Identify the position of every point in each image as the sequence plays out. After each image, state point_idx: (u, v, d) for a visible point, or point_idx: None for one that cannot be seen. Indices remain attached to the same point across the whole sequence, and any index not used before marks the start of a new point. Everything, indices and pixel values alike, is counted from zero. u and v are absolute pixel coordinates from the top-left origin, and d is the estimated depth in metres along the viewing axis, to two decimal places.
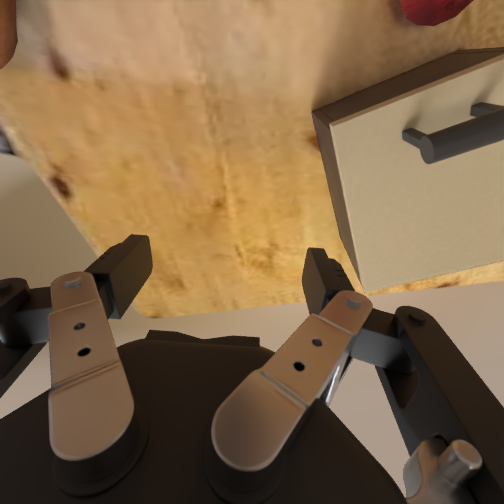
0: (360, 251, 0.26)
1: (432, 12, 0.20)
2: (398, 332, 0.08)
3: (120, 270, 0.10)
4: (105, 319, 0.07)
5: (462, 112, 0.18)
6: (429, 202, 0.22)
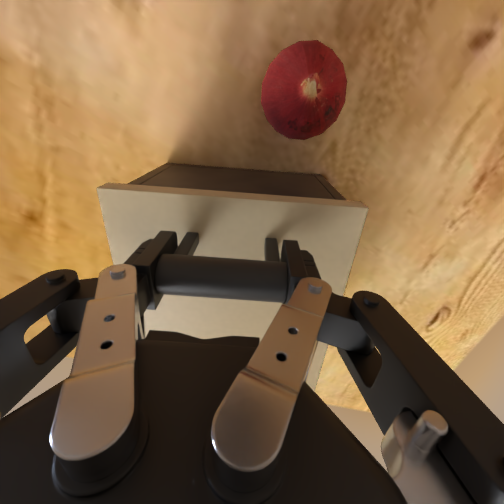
0: None
1: (278, 122, 0.17)
2: (353, 314, 0.09)
3: (156, 263, 0.11)
4: (133, 315, 0.07)
5: (256, 240, 0.15)
6: (219, 323, 0.18)
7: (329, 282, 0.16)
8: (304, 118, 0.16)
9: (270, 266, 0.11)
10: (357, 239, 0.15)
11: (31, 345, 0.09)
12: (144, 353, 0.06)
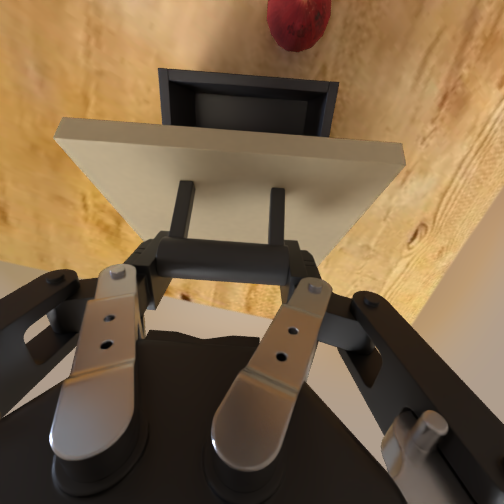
0: None
1: (280, 29, 0.23)
2: (353, 314, 0.09)
3: None
4: (133, 315, 0.07)
5: (261, 189, 0.13)
6: (227, 240, 0.19)
7: (338, 220, 0.15)
8: (299, 21, 0.22)
9: (271, 261, 0.11)
10: (380, 191, 0.12)
11: (31, 345, 0.09)
12: (144, 353, 0.06)
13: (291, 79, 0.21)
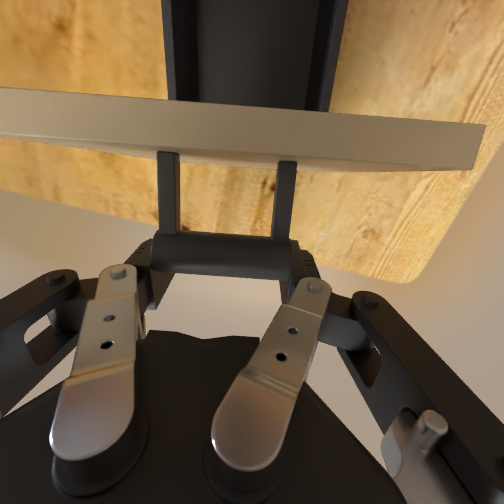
0: None
1: None
2: (353, 314, 0.09)
3: None
4: (133, 315, 0.07)
5: (266, 158, 0.10)
6: (228, 162, 0.16)
7: None
8: None
9: (272, 268, 0.10)
10: (426, 170, 0.09)
11: (31, 345, 0.09)
12: (144, 353, 0.06)
13: None
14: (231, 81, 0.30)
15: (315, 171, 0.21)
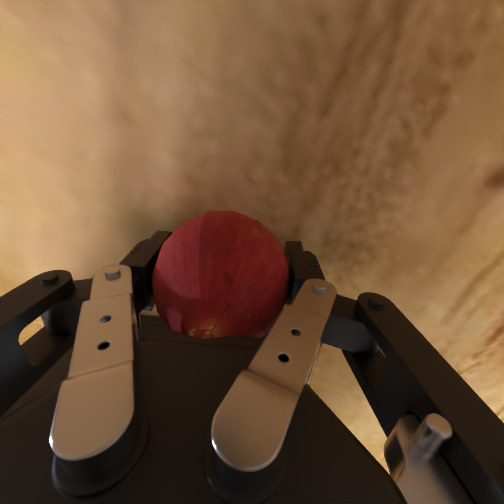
0: None
1: None
2: (358, 316, 0.09)
3: (152, 264, 0.11)
4: (130, 315, 0.07)
5: None
6: None
7: None
8: None
9: None
10: None
11: (25, 347, 0.08)
12: (142, 353, 0.06)
13: None
14: None
15: None
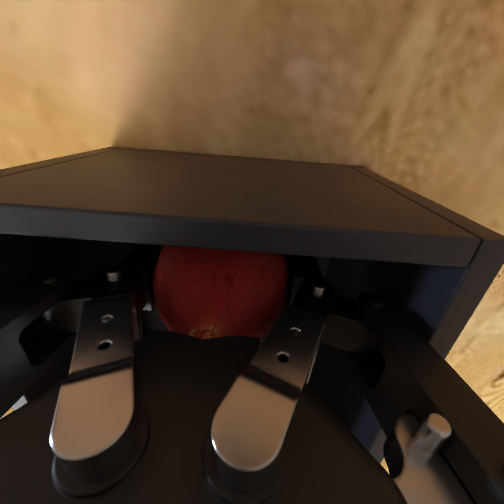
0: None
1: None
2: (357, 315, 0.09)
3: (153, 264, 0.11)
4: (130, 315, 0.07)
5: None
6: None
7: None
8: None
9: None
10: None
11: (26, 346, 0.08)
12: (142, 353, 0.06)
13: (351, 233, 0.06)
14: None
15: None
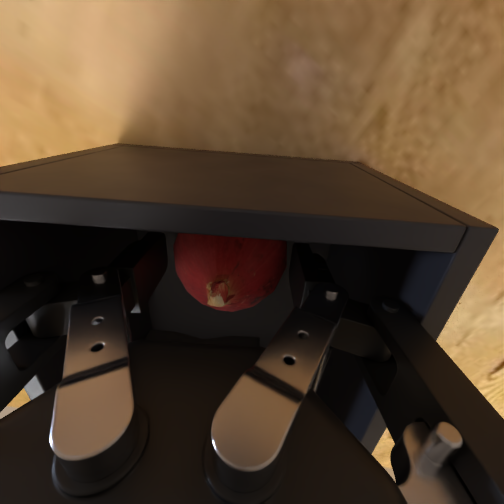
0: None
1: None
2: (372, 321, 0.08)
3: (141, 266, 0.10)
4: (121, 316, 0.07)
5: None
6: None
7: None
8: (221, 309, 0.12)
9: None
10: None
11: (11, 352, 0.08)
12: (136, 353, 0.06)
13: (346, 220, 0.06)
14: None
15: None
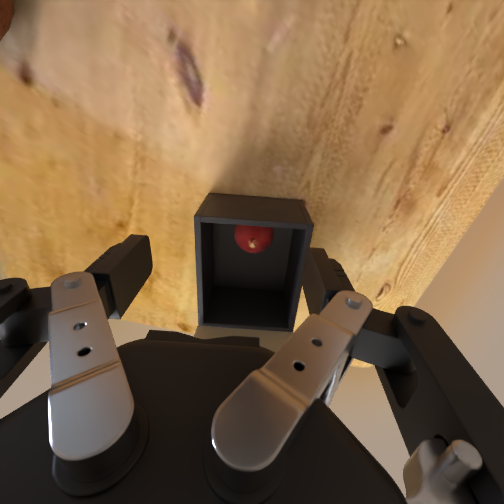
0: None
1: (241, 248, 0.38)
2: (398, 332, 0.08)
3: (120, 270, 0.10)
4: (105, 319, 0.07)
5: None
6: None
7: None
8: (252, 251, 0.36)
9: None
10: None
11: None
12: (124, 354, 0.06)
13: (282, 222, 0.31)
14: (236, 256, 0.44)
15: None
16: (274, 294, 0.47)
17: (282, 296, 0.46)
